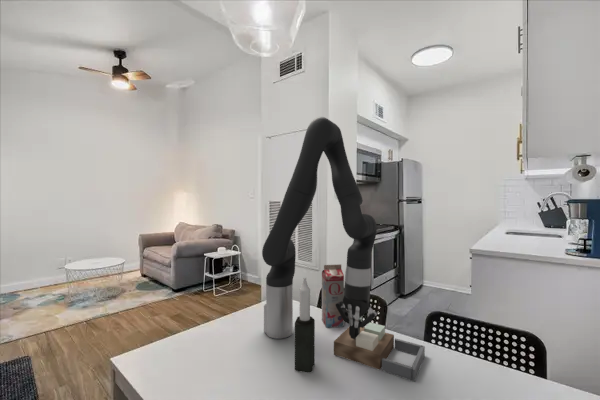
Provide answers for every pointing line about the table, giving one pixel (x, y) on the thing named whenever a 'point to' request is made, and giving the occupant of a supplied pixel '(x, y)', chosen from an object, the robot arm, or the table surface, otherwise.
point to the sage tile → (375, 329)
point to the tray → (400, 368)
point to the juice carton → (332, 295)
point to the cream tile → (367, 340)
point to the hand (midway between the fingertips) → (354, 337)
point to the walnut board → (349, 350)
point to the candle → (304, 333)
